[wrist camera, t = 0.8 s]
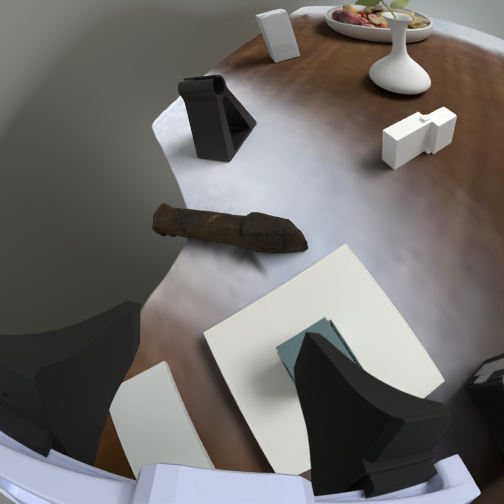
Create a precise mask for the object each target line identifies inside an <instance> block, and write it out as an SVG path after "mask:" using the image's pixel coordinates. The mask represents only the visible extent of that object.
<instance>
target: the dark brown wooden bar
mask: <svg viewBox="0 0 504 504" xmlns="http://www.w3.org/2000/svg"><path fill="white" fill-rule="evenodd" d="M152 229H153V230H154V231H155V232H156V233H158V234H160V235H161V236H166V235H167V234H168V235H170V236H172V237H175V236H182V237H186V238H196V239H201V240H204V241H214V242H220V243H226V244H232V245H238V246H243V247H248V248H251V249H254V250H256V251H257V252H265V253H285V252H296V251H304V250H307V249H308V245H307V241H306V240H305V237H304V235H303V234H302V232H301V231H300V230H299V229H298V228H297V227H296V226H295V225H294V224H293V223H292V222H291V221H290V220H289V219H284V218H280V217H274V216H270V215H267V214H263V213H258V212H252V213H250V214H248V215H247V216H239V215H231V214H226V213H218V212H211V211H200V210H192V209H181V208H172V207H170V206H169V205H167V204H164V203H163V204H162V205H160V207H159V208H158V209H157V211H156V212H155V213H154V216H153V226H152Z"/></svg>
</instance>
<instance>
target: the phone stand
mask: <svg viewBox="0 0 504 504" xmlns="http://www.w3.org/2000/svg"><path fill="white" fill-rule="evenodd" d="M184 81H187V82H180V83H179V85H178V91H179V94H180V96H181V97H182V98H183V100H184V102H185V106H186V110H187V114H188V119H189V123H190V127H191V131H192V135H193V140H194V144H195V148H196V152H197V156H198V157H199V158H207V159H215V160H223V161H231V160H232V158H233V157H234V156H235V154H236V153H237V151H238V150H239V148H240V147H241V145H242V144H243V141H245V140H246V138H247V137H248V135H249V134H250V133H251V131H252V130H253V128H254V127H255V126H256V121H255V120H254V118H253V117H252V116H251V115H250V114H249V112H248V111H247V110H246V109H245V108H244V107H243V105H242V104H241V103H240V102H239V101H238V100H237V99H236V97H235V96H234V95H233V94H232V93H231V92H230V91H229V89H228V88H227V86H226V83H225V80H224V78H223V77H222V76H221V75H210V76H201V77H194V78H186V79H184Z"/></svg>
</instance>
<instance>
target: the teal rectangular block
mask: <svg viewBox="0 0 504 504" xmlns="http://www.w3.org/2000/svg"><path fill="white" fill-rule="evenodd" d="M306 332H313V333H319V334H321V335H322V336H323V337H325V338H326V339H327V340H328V341H329V342H331V343H332V344H333V345H334V346H335V347H336V348H337V349H339V350H340V351H341V352H342V353H343V354H344V355H346V356H347V357H348V358H349V359H350V360H352V361H353V362H354V360H353V359H352V357H351V356H350V354H349V353H348V351H347V349H346V348H345V346H344V345H343V343H342V342H341V340H340V339H339V337H338V336H337V334H336V333H335V331H334V330H333V328H332V327H331V325H330V324H329V322H328V321H327V319H326V318H325V317H324V318H322V319H321V320H319V321H317V322H316V323H314V324H313V325H311V326H310V327H308V328H306V329H305V330H303V331H302V332H300V333H298V334H297V335H295V336H294V337H292V338H290V339H289V340H287V341H285V342H284V343H282V344H280V345H279V346H277V347H276V349H277V351H278V352H279V354H280V356H281V358H282V359H283V361H284V363H285V365H286V366H287V368H288V370H289V371H290V373H291V375H292V377H293V378H294V365H295V362H296V359H297V356H298V354H299V351H300V348H301V345H302V342H303V339H304V336H305V333H306ZM354 363H355V362H354ZM355 364H356V363H355ZM294 380H295V378H294Z"/></svg>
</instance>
